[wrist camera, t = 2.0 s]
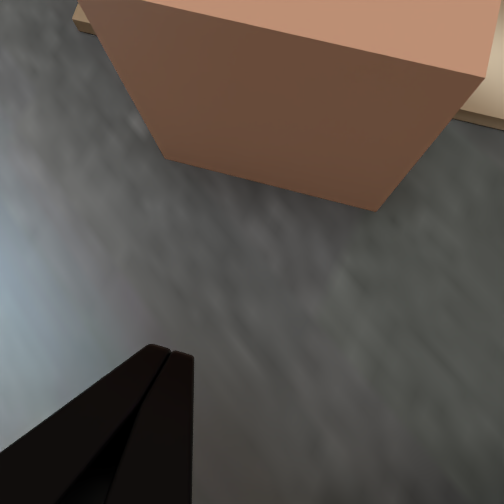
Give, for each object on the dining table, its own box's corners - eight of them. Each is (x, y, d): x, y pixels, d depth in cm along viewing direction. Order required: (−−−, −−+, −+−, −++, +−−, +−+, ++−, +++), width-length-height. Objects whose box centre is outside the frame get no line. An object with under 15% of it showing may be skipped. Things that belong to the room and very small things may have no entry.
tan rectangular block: (375, 212, 20) (485, 78, 10) (164, 158, 20) (68, -17, 10) (395, 128, 20) (517, -78, 10) (190, 79, 21) (122, -156, 11)
